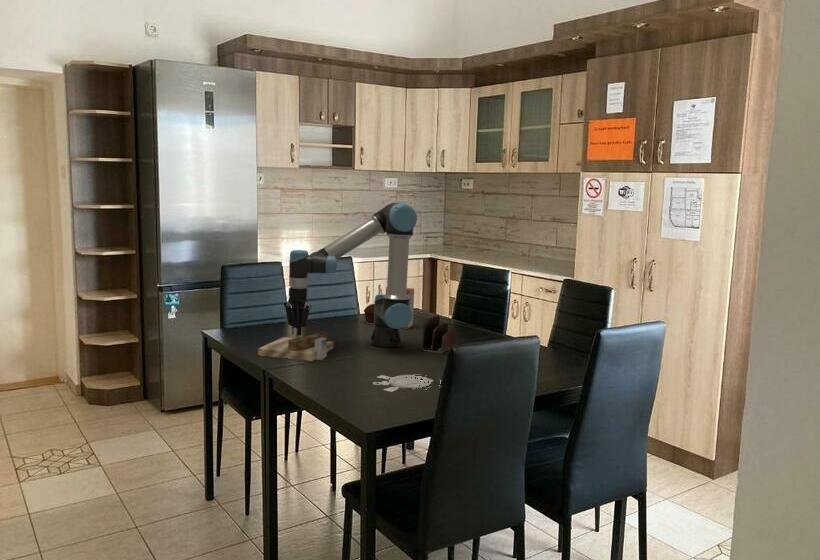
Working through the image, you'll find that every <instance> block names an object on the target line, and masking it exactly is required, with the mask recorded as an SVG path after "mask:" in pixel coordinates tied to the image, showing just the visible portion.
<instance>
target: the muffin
mask: <svg viewBox="0 0 820 560" xmlns="http://www.w3.org/2000/svg"><path fill="white" fill-rule="evenodd" d="M374 307H375V303H371V304H369V305H367V306H366V307H365V308H364V309H363V312H364V316H365V317H364V318H365V323H366V322H368V323H374Z"/></svg>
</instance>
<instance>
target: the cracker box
mask: <svg viewBox="0 0 820 560" xmlns="http://www.w3.org/2000/svg"><path fill="white" fill-rule="evenodd" d="M386 293H387V286H386V287H385V294H386ZM406 294H407V295H408V296H409V298H410V299H409V308H410V310H411V313H412V317H411V320H410V322H409V324H408V325H407V326H405V327H409V326H412V325H413V326H414V311H415V310H414V309H415V308H414V307H415V306H414V304H415V288H411V287H407V290H406Z"/></svg>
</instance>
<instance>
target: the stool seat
mask: <svg viewBox="0 0 820 560" xmlns="http://www.w3.org/2000/svg"><path fill="white" fill-rule="evenodd" d="M292 339H293V337H287V336H282V337H280V338H278V339H276V340H274V341H272V342H269V343H267V344H265V345H264V346H261V347H259V348H258V349H257V350H258V351H257V356H258V355H260V356H259V357H266V356H268V357H269V358H276V357H277V358H278V359H286V358H288V359H289V360H295V359H297V360H296V361H305V360H306V361H305V362H313V361H316V360H315V346H314V347H310V348H306V349H302V350H299V351H292V350H288V340H292ZM331 349H332V350H333V349H334V341H328V340H327V353H328V352H330V351H331ZM329 350H330V351H329Z"/></svg>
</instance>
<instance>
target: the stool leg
mask: <svg viewBox="0 0 820 560" xmlns="http://www.w3.org/2000/svg"><path fill="white" fill-rule="evenodd" d="M327 335H328V334H327V332H324V331H320V332H317V333H313V334H310V335H305V336H300V338H296V339H292V340H288V350H292V351H299V350H302V349H306V348H310V347H314V346H315V340H316V339H318V338H327ZM327 339H328V338H327Z"/></svg>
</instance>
